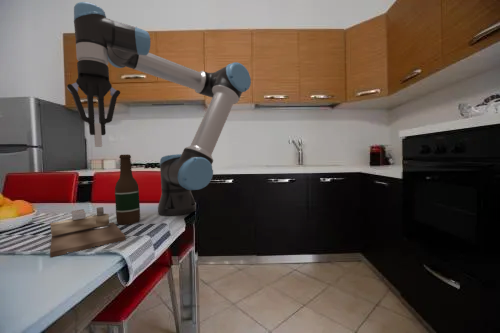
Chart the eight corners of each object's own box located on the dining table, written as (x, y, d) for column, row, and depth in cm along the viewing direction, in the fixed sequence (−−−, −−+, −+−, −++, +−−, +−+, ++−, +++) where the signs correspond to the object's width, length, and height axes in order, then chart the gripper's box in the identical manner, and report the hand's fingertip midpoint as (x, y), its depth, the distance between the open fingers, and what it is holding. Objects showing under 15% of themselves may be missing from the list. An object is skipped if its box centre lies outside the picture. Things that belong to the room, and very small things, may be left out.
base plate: (113, 225, 80) (113, 222, 80) (125, 240, 66) (125, 236, 66) (52, 236, 70) (52, 233, 70) (50, 257, 56) (50, 252, 56)
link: (106, 221, 78) (105, 205, 78) (110, 224, 75) (109, 207, 74) (50, 232, 68) (49, 214, 68) (52, 236, 65) (51, 216, 64)
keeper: (108, 223, 79) (107, 205, 79) (111, 227, 74) (110, 209, 74) (73, 229, 73) (71, 210, 73) (74, 234, 68) (72, 214, 68)
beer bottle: (124, 219, 88) (120, 154, 87) (145, 218, 88) (141, 154, 87) (111, 225, 81) (107, 155, 79) (133, 225, 80) (129, 154, 79)
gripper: (116, 71, 75) (121, 147, 76) (63, 62, 66) (69, 147, 68) (121, 64, 69) (126, 145, 70) (64, 53, 61) (71, 146, 62)
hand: (98, 146), depth 69 cm, fingers closed
